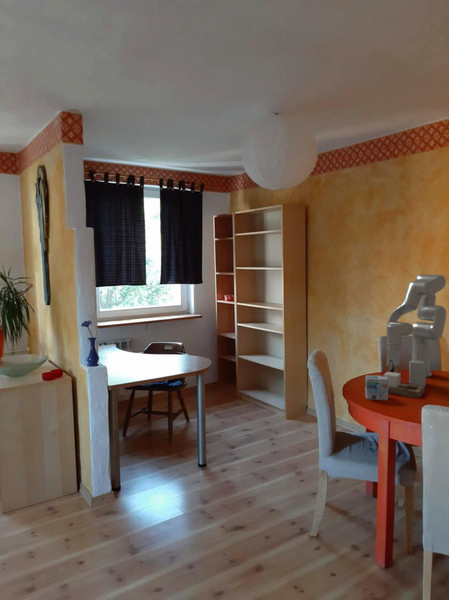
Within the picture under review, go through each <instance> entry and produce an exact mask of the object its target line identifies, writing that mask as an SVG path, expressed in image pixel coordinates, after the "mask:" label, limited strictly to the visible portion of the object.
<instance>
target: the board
mask: <svg viewBox="0 0 449 600" xmlns="http://www.w3.org/2000/svg"><path fill="white" fill-rule="evenodd" d="M425 387H426V385H425V386H418V385H411V384H410V383H403V382H402V383H401V384H400V385H399V386H398V387H397V388H396V387H389V386H388V395H395V396H396V395H397V396H402V397H408V398H409V397H410V398H416V399H421V397H422V395H423V394H424V393H425Z"/></svg>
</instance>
